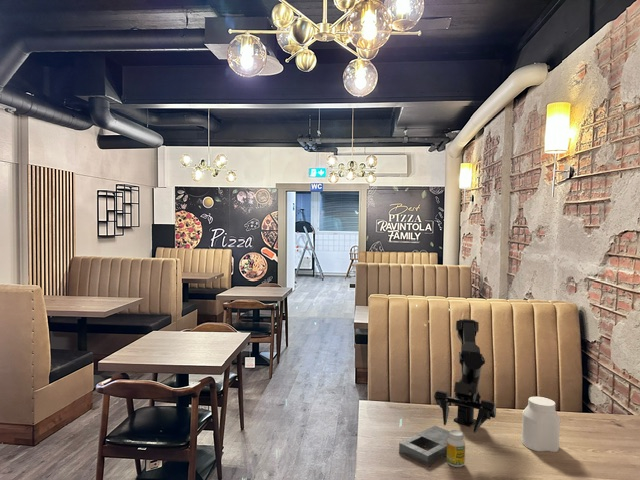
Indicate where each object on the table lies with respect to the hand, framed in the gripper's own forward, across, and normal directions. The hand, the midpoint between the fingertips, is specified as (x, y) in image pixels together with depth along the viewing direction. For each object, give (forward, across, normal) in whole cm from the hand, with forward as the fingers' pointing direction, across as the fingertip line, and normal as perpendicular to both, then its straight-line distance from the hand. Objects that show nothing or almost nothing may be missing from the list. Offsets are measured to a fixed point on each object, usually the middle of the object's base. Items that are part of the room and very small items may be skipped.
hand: (459, 428), depth 144 cm
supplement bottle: (+9, 0, +5) cm, 10 cm away
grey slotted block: (+6, -9, +8) cm, 14 cm away
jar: (-11, +21, +25) cm, 34 cm away
